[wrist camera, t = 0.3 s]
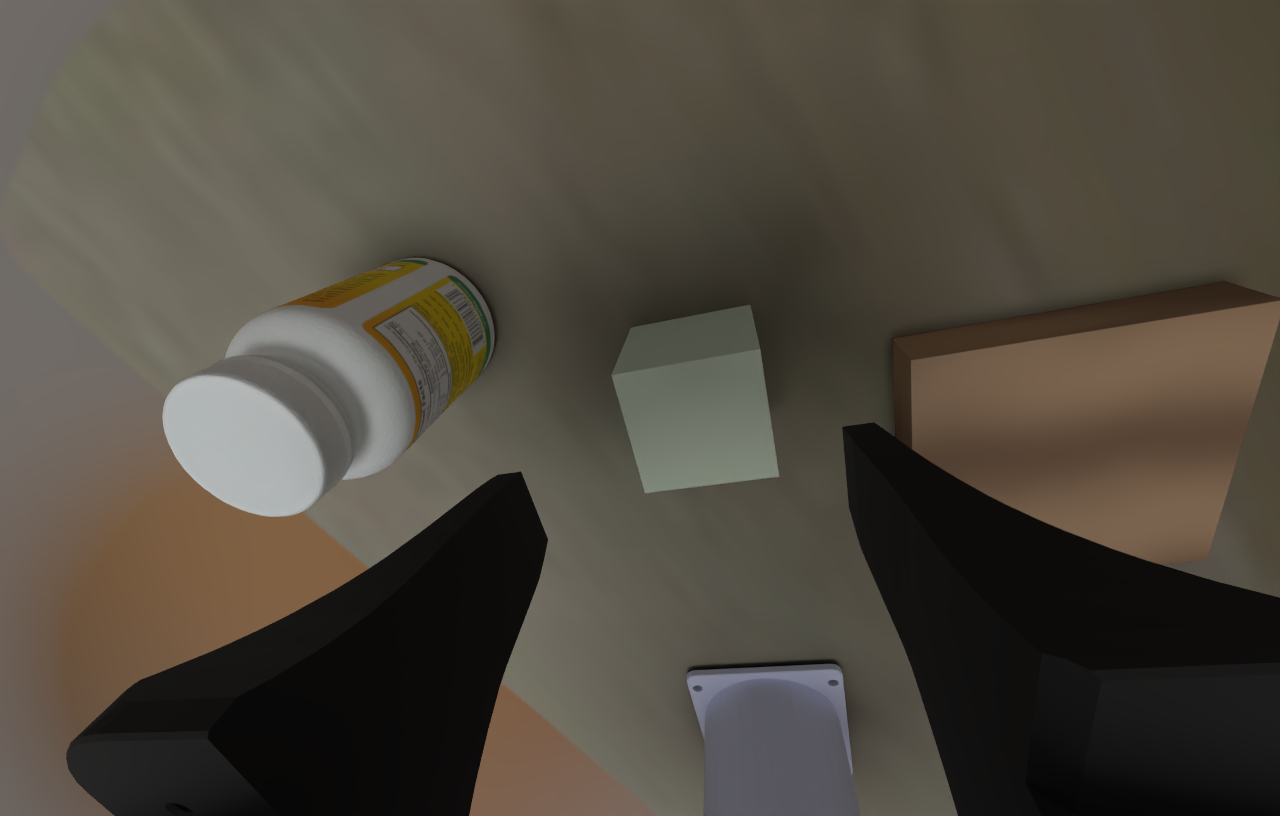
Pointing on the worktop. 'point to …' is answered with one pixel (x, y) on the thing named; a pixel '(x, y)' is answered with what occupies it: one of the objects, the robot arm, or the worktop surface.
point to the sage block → (696, 401)
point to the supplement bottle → (330, 386)
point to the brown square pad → (1096, 411)
